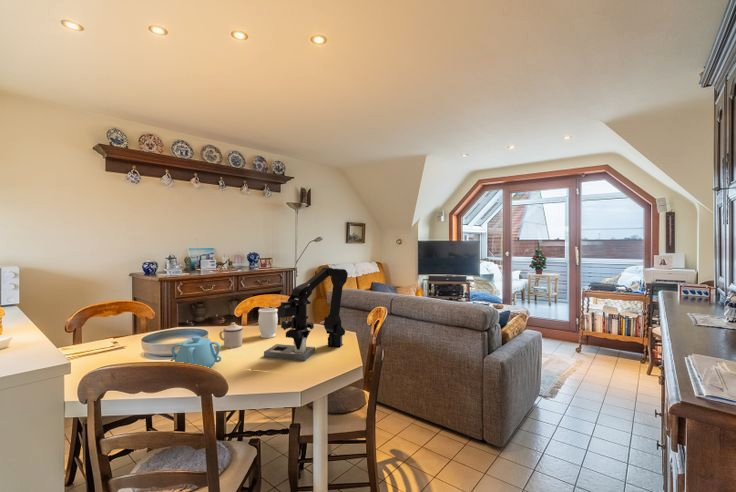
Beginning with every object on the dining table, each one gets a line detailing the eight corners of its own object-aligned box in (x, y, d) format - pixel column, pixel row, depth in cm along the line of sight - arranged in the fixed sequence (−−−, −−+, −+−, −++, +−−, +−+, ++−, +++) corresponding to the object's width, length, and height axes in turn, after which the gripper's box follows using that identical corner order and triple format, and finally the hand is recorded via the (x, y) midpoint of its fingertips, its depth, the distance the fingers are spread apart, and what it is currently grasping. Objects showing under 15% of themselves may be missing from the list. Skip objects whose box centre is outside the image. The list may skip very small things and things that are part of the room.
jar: (274, 339, 186) (274, 311, 186) (255, 338, 186) (255, 311, 186) (279, 333, 197) (280, 307, 196) (262, 333, 197) (262, 307, 197)
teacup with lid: (245, 343, 177) (246, 321, 177) (236, 349, 169) (236, 325, 168) (224, 342, 179) (224, 320, 179) (214, 347, 170) (214, 324, 170)
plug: (305, 354, 160) (306, 337, 160) (302, 357, 156) (302, 339, 156) (296, 353, 161) (296, 336, 161) (292, 356, 157) (292, 339, 157)
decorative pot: (224, 369, 142) (225, 336, 142) (183, 380, 130) (184, 345, 130) (206, 360, 153) (207, 329, 153) (167, 370, 141) (167, 337, 140)
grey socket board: (315, 353, 163) (315, 347, 163) (305, 362, 151) (305, 355, 151) (276, 350, 167) (276, 343, 167) (263, 358, 156) (263, 351, 156)
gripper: (292, 309, 169) (292, 341, 169) (274, 317, 151) (274, 353, 151) (314, 310, 166) (313, 342, 167) (298, 319, 148) (298, 355, 148)
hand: (300, 348), depth 158 cm, fingers closed on plug, 4 cm apart
